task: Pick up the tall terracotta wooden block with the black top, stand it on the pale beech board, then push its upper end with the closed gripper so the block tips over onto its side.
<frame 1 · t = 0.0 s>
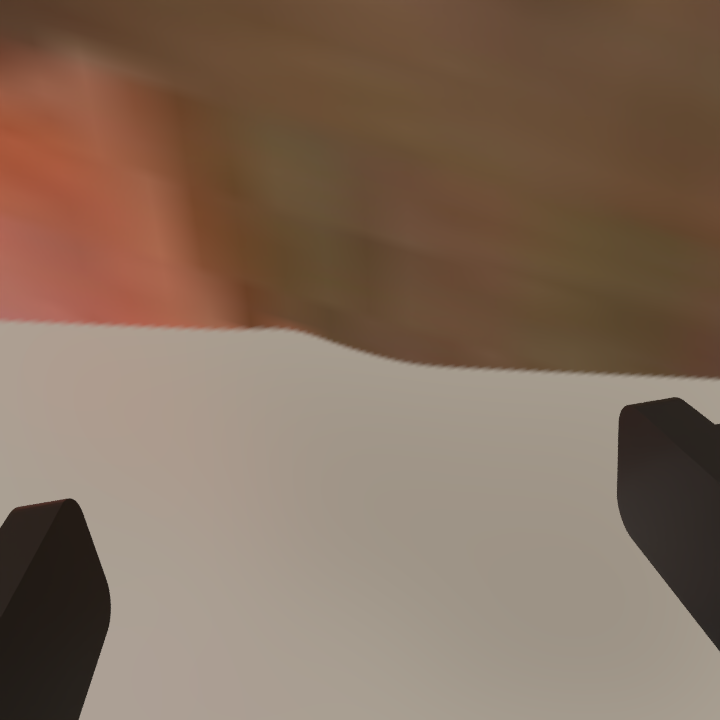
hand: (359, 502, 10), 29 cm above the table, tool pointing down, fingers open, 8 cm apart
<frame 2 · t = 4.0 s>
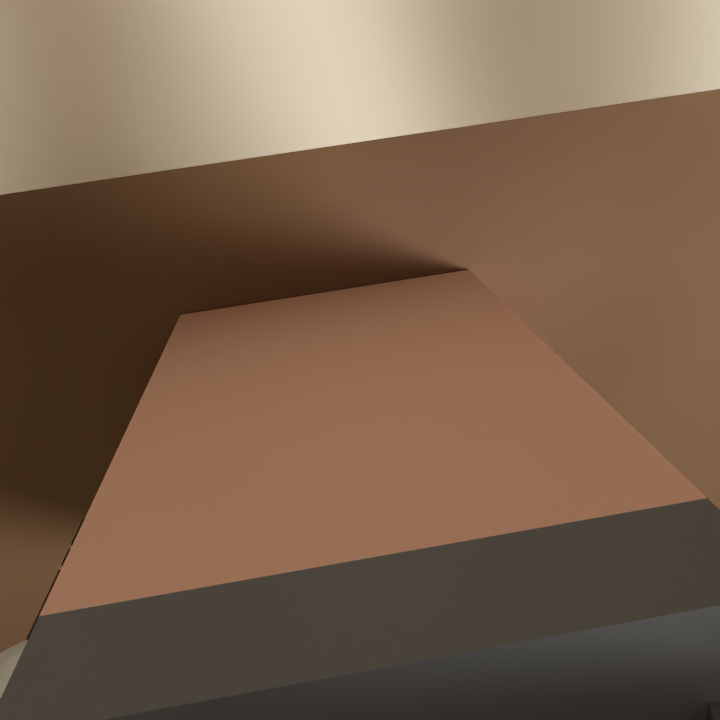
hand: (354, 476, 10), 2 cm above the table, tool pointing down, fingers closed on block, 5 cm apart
block: (346, 420, 12), on the table, touching gripper
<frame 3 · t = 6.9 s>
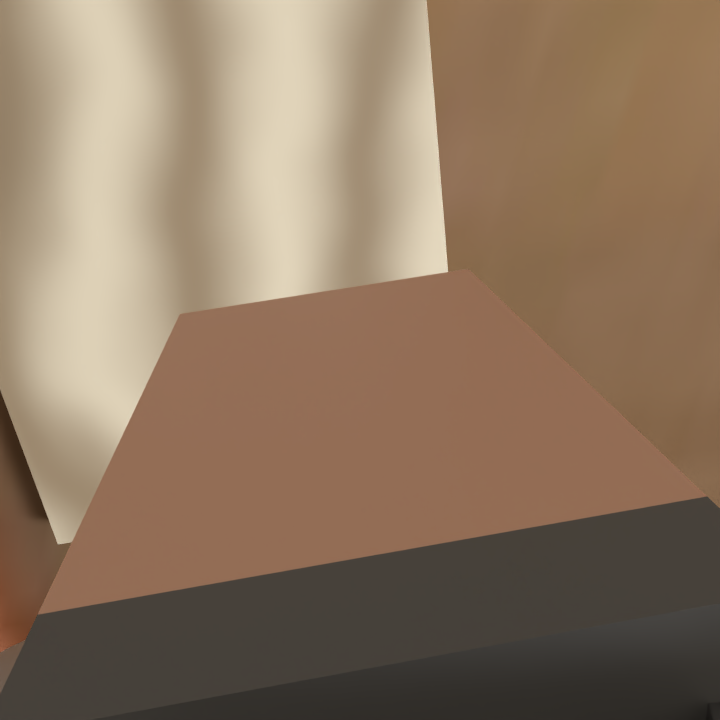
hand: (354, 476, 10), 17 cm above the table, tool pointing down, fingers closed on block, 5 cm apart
board: (214, 258, 26), on the table
block: (345, 419, 12), point 15 cm above the table, touching gripper
when the fingers open (4 cm above the table, at t = 9.7 s): block stays where it is, resting on board.
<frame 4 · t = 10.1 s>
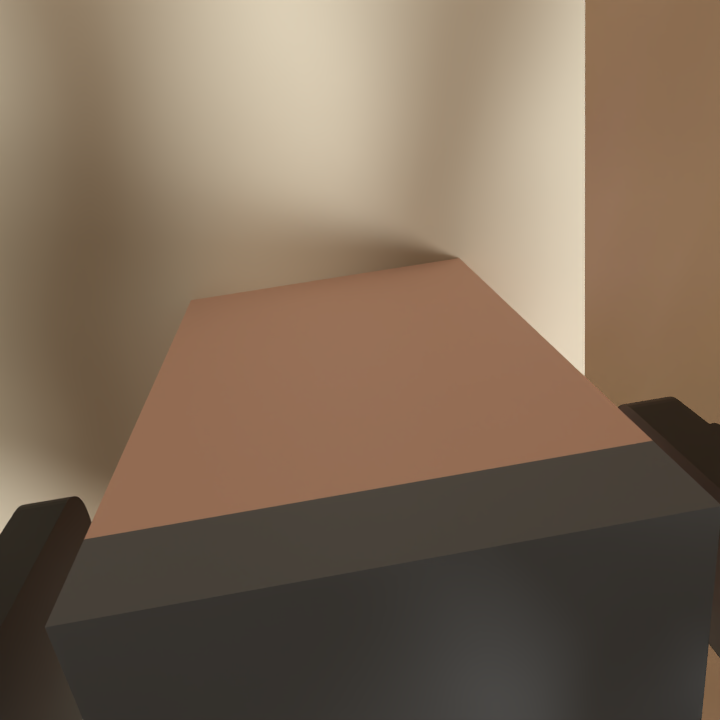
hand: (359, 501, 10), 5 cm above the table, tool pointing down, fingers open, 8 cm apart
board: (152, 399, 14), on the table
block: (345, 399, 13), point 1 cm above the table, touching board
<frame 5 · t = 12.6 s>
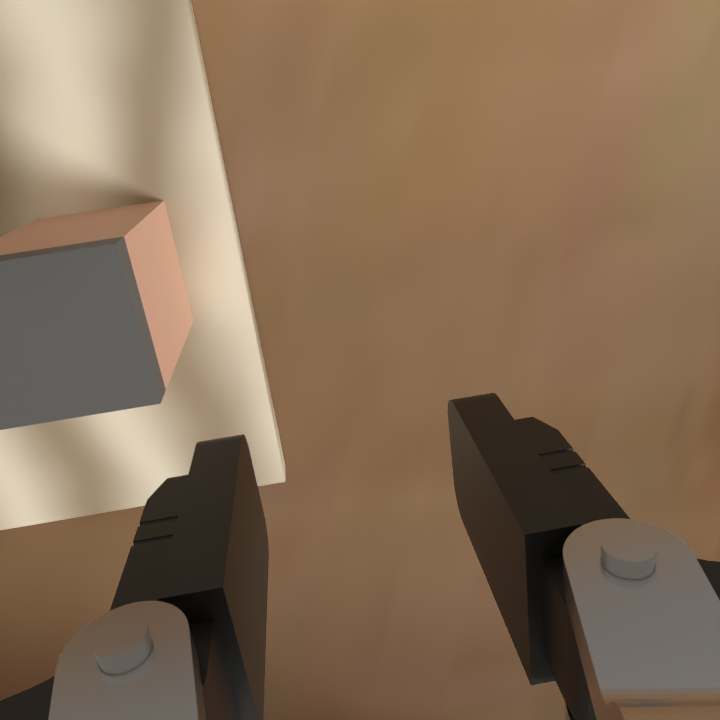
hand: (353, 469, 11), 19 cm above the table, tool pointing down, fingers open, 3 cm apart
board: (27, 277, 28), on the table
block: (117, 272, 27), point 1 cm above the table, touching board
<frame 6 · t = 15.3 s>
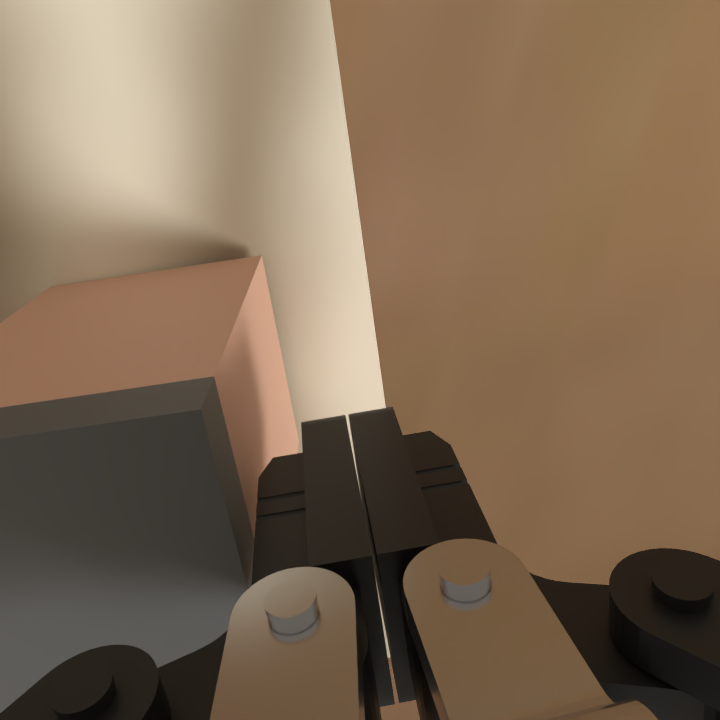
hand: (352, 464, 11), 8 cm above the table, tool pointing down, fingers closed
board: (37, 368, 18), on the table
block: (182, 367, 16), point 2 cm above the table, touching board, gripper
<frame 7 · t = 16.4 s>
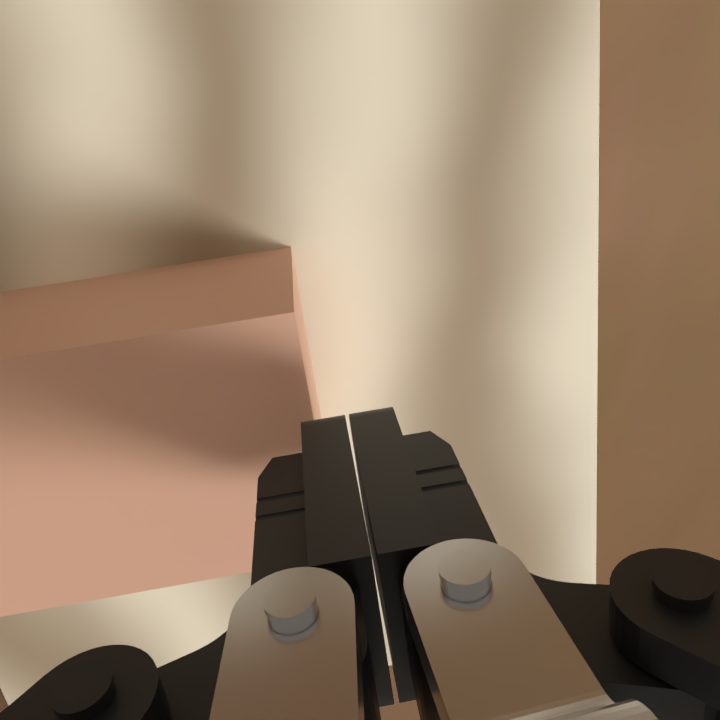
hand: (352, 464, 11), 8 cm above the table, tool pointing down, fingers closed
board: (247, 333, 18), on the table
block: (312, 386, 14), point 4 cm above the table, tilted 90°, touching board
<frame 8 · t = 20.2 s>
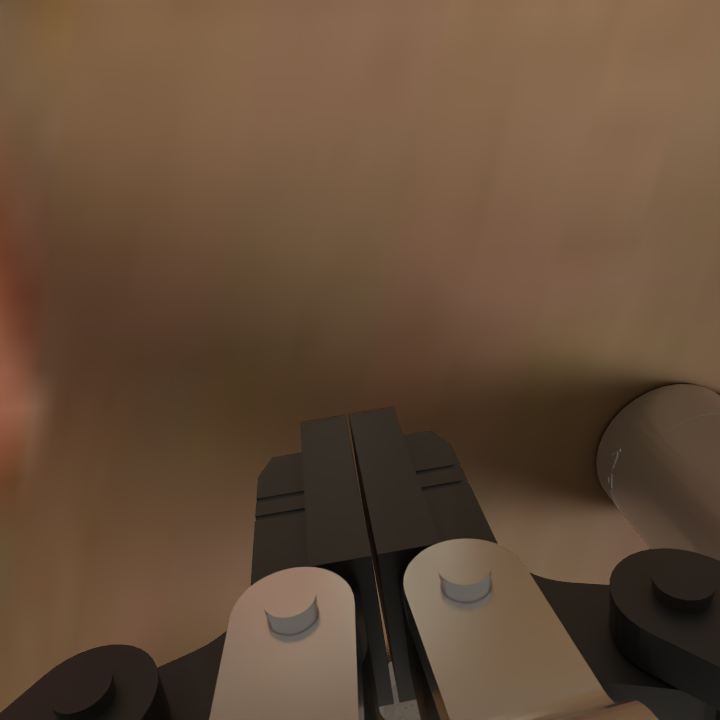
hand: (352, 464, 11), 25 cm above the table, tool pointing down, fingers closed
glass holder: (397, 695, 48), on the table
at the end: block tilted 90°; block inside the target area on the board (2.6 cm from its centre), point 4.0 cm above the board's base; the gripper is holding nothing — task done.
